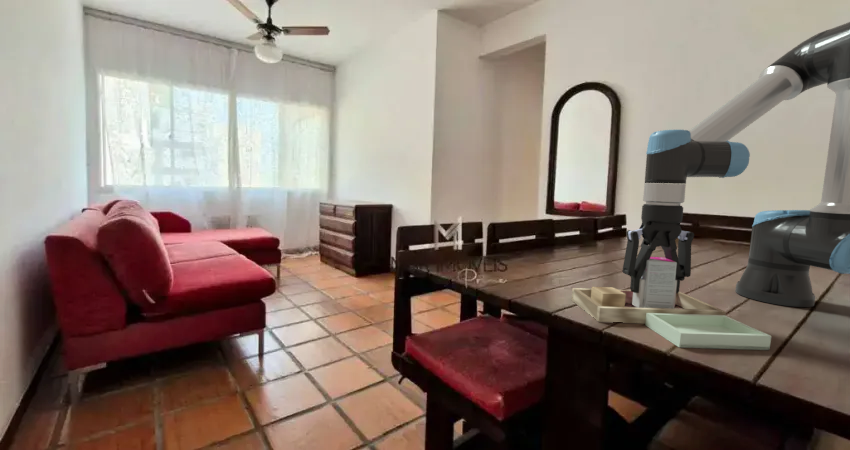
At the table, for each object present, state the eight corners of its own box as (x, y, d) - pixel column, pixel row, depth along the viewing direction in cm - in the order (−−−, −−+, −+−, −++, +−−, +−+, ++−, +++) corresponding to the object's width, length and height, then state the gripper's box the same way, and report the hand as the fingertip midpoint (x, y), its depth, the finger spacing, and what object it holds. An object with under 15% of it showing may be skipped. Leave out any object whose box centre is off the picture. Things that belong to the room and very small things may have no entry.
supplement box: (673, 314, 79) (677, 261, 78) (643, 312, 80) (647, 260, 79) (662, 305, 85) (665, 256, 84) (634, 303, 86) (637, 255, 85)
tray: (723, 327, 75) (725, 315, 75) (769, 350, 65) (771, 335, 65) (645, 325, 75) (646, 312, 74) (679, 347, 65) (680, 333, 65)
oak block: (611, 308, 85) (613, 287, 84) (623, 316, 80) (625, 294, 79) (589, 308, 85) (591, 286, 84) (600, 316, 80) (603, 293, 79)
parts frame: (677, 303, 90) (679, 291, 90) (724, 325, 76) (726, 311, 76) (571, 300, 90) (572, 288, 89) (598, 322, 76) (599, 307, 75)
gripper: (694, 203, 84) (683, 301, 86) (609, 201, 84) (601, 300, 86) (720, 205, 76) (708, 313, 79) (627, 204, 76) (618, 312, 79)
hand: (652, 306), depth 83 cm, fingers closed on supplement box, 6 cm apart
